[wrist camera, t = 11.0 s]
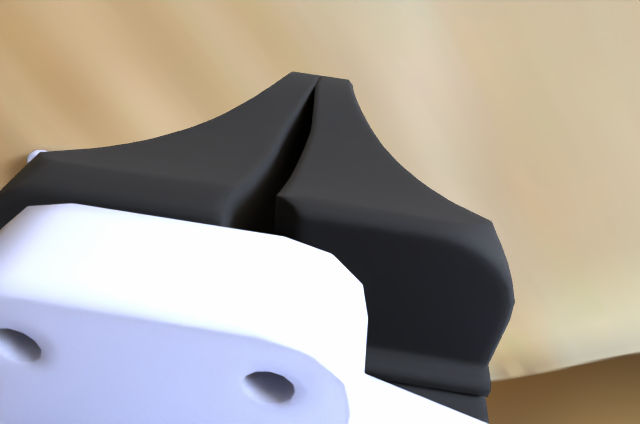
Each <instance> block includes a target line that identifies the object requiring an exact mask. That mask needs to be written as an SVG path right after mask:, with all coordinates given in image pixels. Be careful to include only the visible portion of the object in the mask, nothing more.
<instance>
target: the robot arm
mask: <svg viewBox="0 0 640 424" xmlns="http://www.w3.org/2000/svg"><path fill="white" fill-rule="evenodd" d="M27 163H28V164H27V165H26V166H25V167H24V168H23V169H22V170H21V171H20V172H19V173H18V174H17V175H16V176H15V177H14V178H13V179H12V180H11V181H10V182H9V183H8V184H7V185H6V186H5V187H4V188H3V189H2V190H1V191H0V424H489V421H488V413H487V406H486V399H485V396H486V397H487V396H488V395H489V393H490V390H491V380H490V373H489V367H488V364H489V362H490V360H491V358H492V356H493V354H494V352H495V349H496V347H497V345H498V343H499V341H500V339H501V337H502V335H503V333H504V331H505V329H506V327H507V325H508V323H509V321H510V317H511V314H512V310H513V306H514V303H515V300H514V292H513V284H512V278H511V274H510V270H509V266H508V262H507V259H506V257H505V254H504V251H503V248H502V245H501V243H500V241H499V238H498V236H497V234H496V231H495V229H494V226H493V223H492V222H491V221H490V220H488V219H486V218H484V217H481V216H479V215H477V214H475V213H473V212H471V211H469V210H467V209H465V208H463V207H461V206H459V205H457V204H455V203H453V202H451V201H449V200H448V199H446V198H445V197H443V196H441V195H440V194H438V193H437V192H435V191H433V190H432V189H430V188H429V187H427V186H426V185H425V184H423V183H422V182H420V181H419V180H418V179H417V178H416V177H414V176H413V175H412V174H411V173H410V172H408V171H407V170H406V169H405V168H404V167H402V166H401V165H400V164H399V163H398V162H397V161H396V160H395V159H394V158H393V157H392V156H391V154H390V153H389V152H388V151H387V150H386V149H385V148H384V147H383V145H382V144H381V143H380V141H379V140H378V138H377V137H376V135H375V134H374V132H373V131H372V129H371V128H370V126H369V124H368V122H367V120H366V119H365V117H364V115H363V113H362V111H361V109H360V107H359V104H358V102H357V100H356V97H355V94H354V91H353V85H352V84H351V83H350V81H349V80H346V79H339V78H333V77H326V76H319V75H312V74H305V73H299V72H291V73H289V74H288V75H286V76H285V77H283V78H282V79H281V80H279V81H278V82H276V83H275V84H273V85H272V86H271V87H269V88H267V89H266V90H264V91H263V92H261V93H260V94H258V95H257V96H255V97H254V98H252V99H250V100H248V101H247V102H245V103H243V104H241V105H239V106H238V107H236V108H234V109H232V110H230V111H229V112H227V113H225V114H223V115H221V116H218V117H216V118H214V119H212V120H209V121H207V122H204V123H202V124H199V125H196V126H194V127H191V128H188V129H185V130H182V131H178V132H174V133H171V134H167V135H164V136H160V137H157V138H153V139H149V140H144V141H139V142H133V143H128V144H122V145H115V146H109V147H101V148H91V149H78V150H64V151H44V150H34V151H32V152H31V153H30V154H29V155H28V157H27Z"/></svg>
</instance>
